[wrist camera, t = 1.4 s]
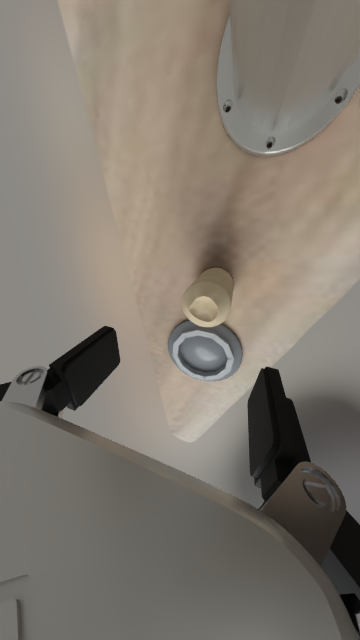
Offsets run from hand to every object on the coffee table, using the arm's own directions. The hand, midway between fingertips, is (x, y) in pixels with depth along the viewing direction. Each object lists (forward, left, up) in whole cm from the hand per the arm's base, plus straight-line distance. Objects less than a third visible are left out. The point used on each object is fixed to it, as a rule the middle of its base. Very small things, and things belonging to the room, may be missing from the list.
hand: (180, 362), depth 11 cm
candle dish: (+13, 0, -18) cm, 22 cm away
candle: (0, 0, -18) cm, 18 cm away
